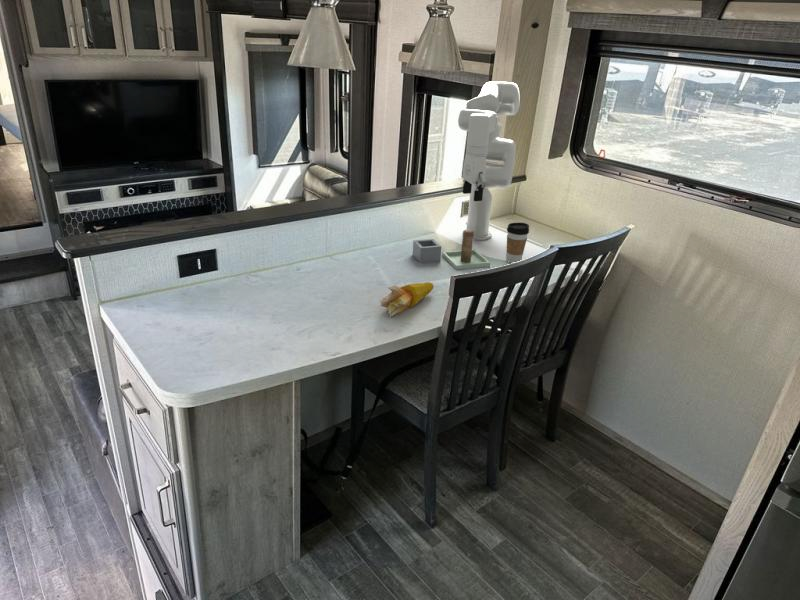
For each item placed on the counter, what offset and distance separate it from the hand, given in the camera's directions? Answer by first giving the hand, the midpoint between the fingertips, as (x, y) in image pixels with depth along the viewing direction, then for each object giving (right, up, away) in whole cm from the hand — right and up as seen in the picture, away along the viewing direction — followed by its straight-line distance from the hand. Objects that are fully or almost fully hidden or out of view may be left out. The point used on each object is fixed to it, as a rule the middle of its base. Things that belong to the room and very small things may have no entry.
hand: (472, 197), depth 212 cm
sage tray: (-1, -24, +11) cm, 26 cm away
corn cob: (-23, -40, -23) cm, 52 cm away
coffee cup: (+18, -23, +16) cm, 33 cm away
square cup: (-16, -22, +12) cm, 30 cm away
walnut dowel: (-1, -23, +11) cm, 25 cm away
